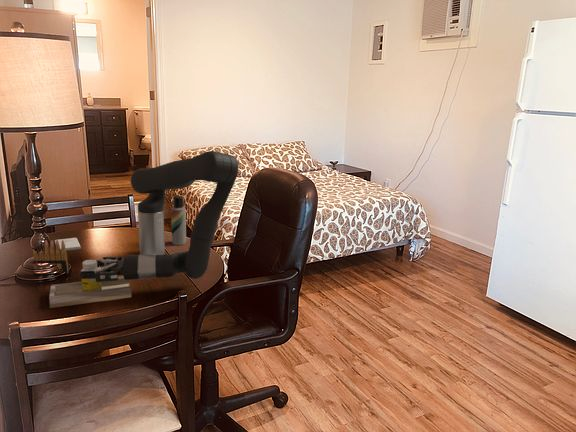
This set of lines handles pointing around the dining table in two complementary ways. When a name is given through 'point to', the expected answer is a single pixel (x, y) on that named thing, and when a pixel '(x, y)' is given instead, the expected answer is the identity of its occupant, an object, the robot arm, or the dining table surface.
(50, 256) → the ammunition clip
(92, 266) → the supplement bottle
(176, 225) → the lotion bottle
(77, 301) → the track
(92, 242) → the dining table surface
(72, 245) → the external hard drive
